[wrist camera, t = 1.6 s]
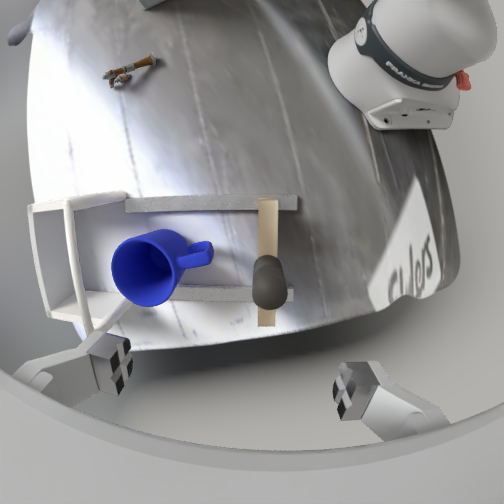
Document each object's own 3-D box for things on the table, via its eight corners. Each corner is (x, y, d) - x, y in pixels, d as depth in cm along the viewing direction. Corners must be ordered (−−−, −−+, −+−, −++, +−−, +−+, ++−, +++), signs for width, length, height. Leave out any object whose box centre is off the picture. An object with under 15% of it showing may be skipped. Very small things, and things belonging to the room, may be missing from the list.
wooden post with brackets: (104, 85, 31) (100, 71, 27) (151, 66, 33) (152, 51, 29) (106, 93, 31) (103, 79, 27) (154, 74, 33) (155, 59, 29)
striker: (278, 197, 34) (290, 207, 21) (275, 300, 38) (283, 362, 24) (254, 196, 35) (251, 206, 21) (254, 300, 38) (252, 362, 24)
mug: (228, 267, 38) (218, 296, 29) (152, 282, 39) (124, 311, 30) (214, 210, 36) (198, 221, 27) (136, 230, 37) (102, 246, 28)
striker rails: (296, 194, 36) (297, 194, 35) (292, 298, 39) (293, 301, 38) (127, 198, 36) (124, 199, 35) (137, 294, 40) (134, 297, 39)
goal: (126, 189, 36) (69, 197, 23) (137, 302, 40) (96, 347, 27) (63, 197, 36) (5, 207, 23) (76, 296, 41) (30, 331, 28)
